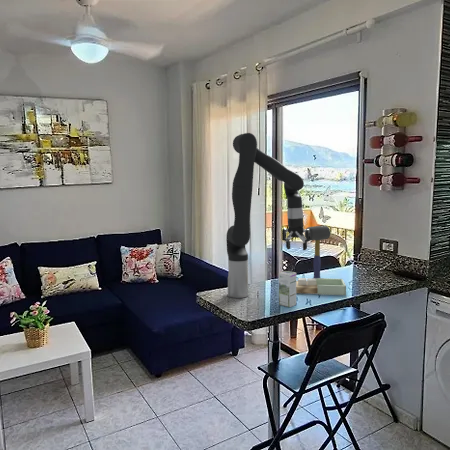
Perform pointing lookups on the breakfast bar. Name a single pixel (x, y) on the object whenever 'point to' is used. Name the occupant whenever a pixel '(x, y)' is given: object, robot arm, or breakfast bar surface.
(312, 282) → the tile
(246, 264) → the robot arm
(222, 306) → the breakfast bar surface
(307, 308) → the breakfast bar surface
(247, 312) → the breakfast bar surface
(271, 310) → the breakfast bar surface
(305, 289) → the board
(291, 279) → the syrup box
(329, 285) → the tray
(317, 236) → the rubber mallet
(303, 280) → the tile
